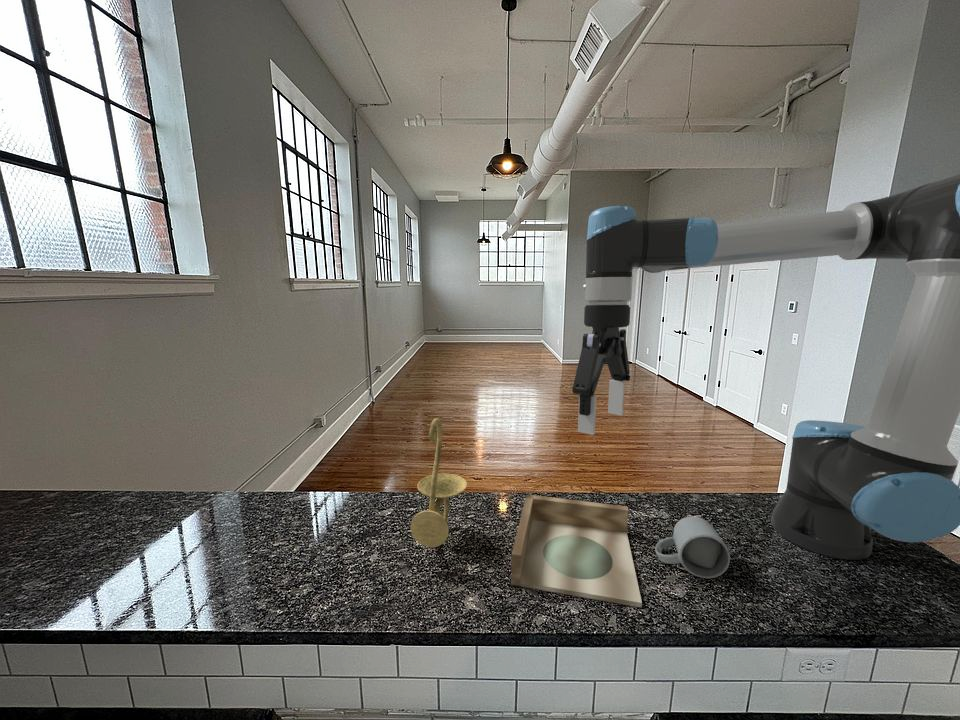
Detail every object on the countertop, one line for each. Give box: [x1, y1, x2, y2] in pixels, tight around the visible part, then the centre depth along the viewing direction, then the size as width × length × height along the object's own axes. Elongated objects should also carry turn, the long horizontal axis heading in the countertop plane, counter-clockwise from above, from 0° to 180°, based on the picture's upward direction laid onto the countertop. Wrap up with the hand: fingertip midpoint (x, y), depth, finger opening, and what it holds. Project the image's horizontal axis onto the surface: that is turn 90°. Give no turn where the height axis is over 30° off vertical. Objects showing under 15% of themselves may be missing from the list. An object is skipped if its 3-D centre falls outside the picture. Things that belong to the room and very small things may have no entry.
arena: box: [510, 493, 643, 608], centre depth 71 cm, size 20×20×6 cm
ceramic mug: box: [654, 515, 731, 579], centre depth 70 cm, size 11×8×8 cm
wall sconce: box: [410, 417, 468, 548], centre depth 73 cm, size 14×10×25 cm
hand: (601, 422), depth 71 cm, fingers open, 13 cm apart
